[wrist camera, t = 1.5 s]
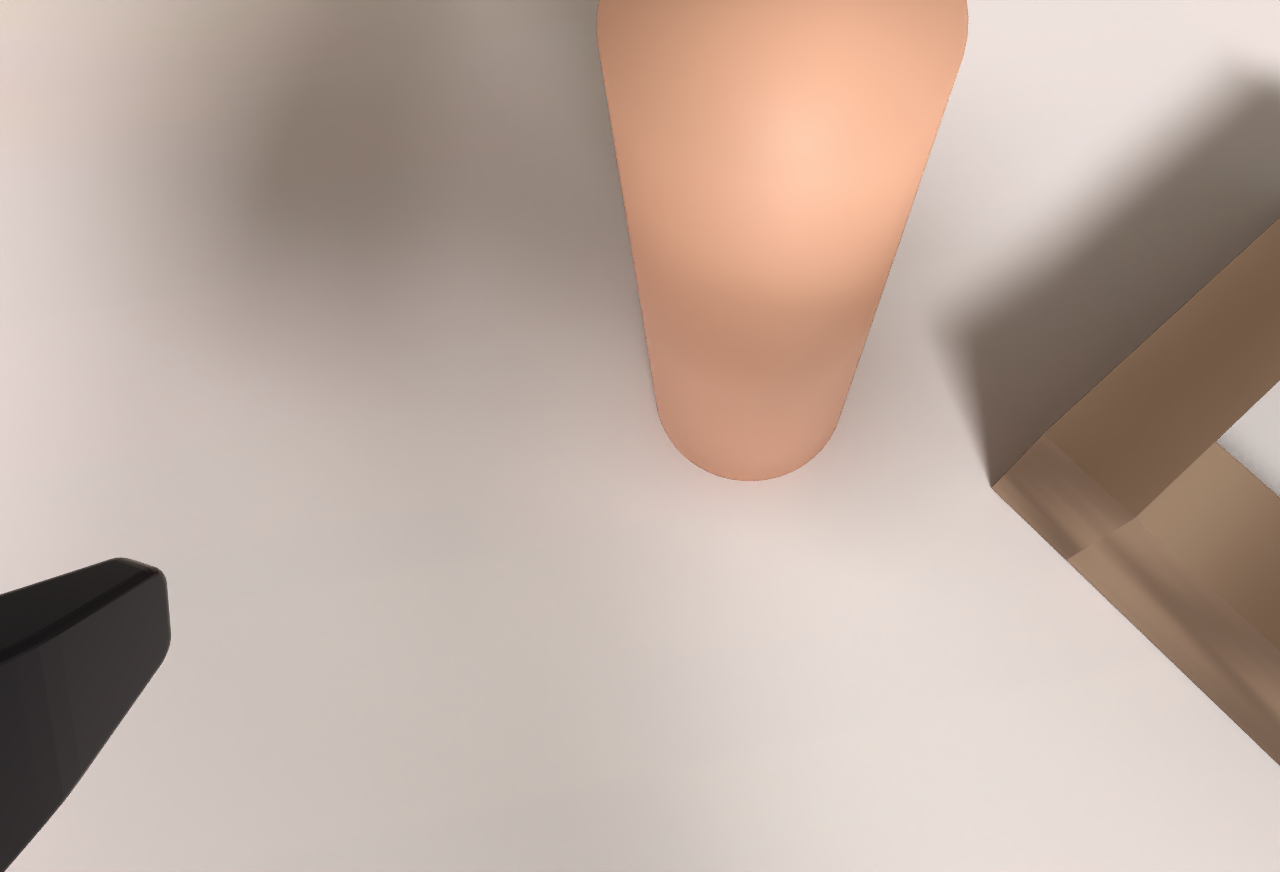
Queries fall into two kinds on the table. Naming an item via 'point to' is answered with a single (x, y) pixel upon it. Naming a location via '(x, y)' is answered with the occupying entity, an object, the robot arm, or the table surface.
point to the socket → (1179, 491)
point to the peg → (768, 200)
